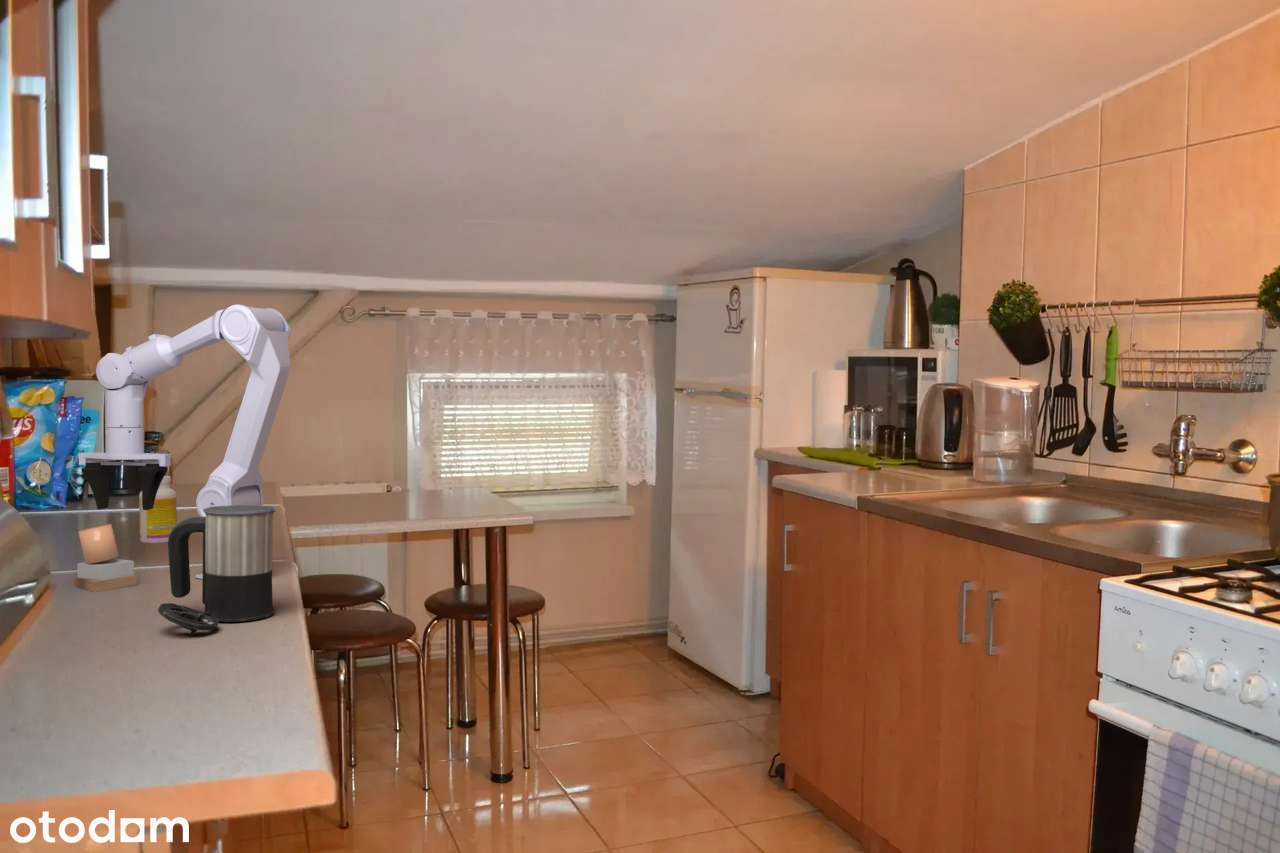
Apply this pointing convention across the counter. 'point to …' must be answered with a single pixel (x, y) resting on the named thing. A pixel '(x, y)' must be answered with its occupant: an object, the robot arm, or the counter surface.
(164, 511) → the supplement bottle
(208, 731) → the counter surface
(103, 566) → the slab upper
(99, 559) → the terracotta cylinder
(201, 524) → the milk frother
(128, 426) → the robot arm
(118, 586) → the slab lower
